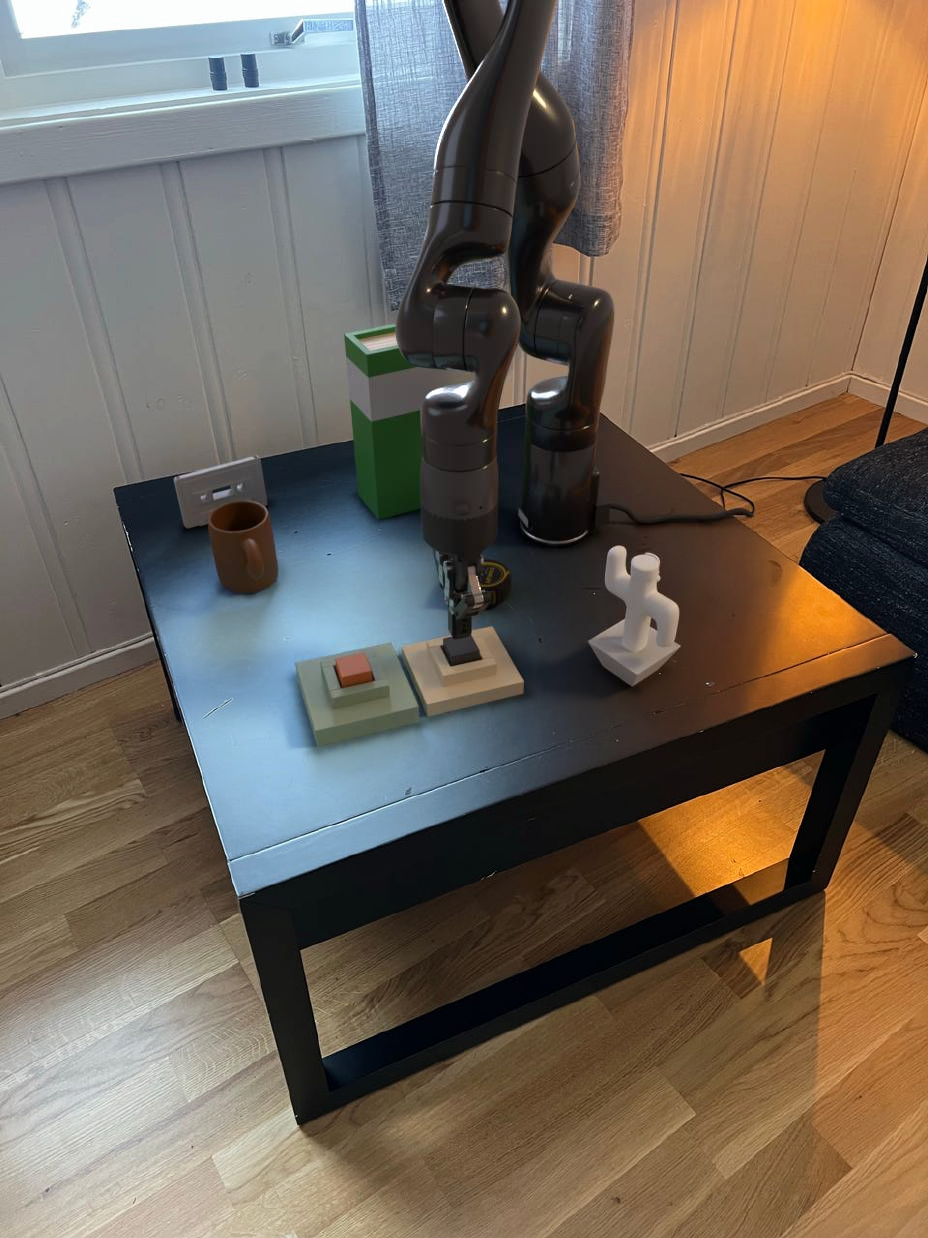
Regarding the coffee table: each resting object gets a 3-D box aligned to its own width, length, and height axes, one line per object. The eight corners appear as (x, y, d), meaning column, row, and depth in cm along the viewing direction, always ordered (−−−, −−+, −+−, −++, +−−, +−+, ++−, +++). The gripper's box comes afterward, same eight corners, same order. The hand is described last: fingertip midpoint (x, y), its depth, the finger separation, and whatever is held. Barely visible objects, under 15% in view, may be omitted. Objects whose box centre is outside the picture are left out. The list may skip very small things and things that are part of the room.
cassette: (264, 500, 133) (257, 453, 128) (269, 506, 132) (261, 458, 127) (182, 524, 128) (171, 475, 124) (186, 530, 127) (175, 482, 122)
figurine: (641, 705, 101) (659, 595, 91) (578, 661, 106) (588, 553, 97) (684, 675, 104) (705, 566, 95) (620, 634, 110) (635, 527, 100)
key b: (365, 662, 101) (364, 651, 100) (372, 681, 98) (371, 670, 97) (336, 669, 100) (334, 658, 99) (343, 688, 98) (341, 677, 97)
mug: (296, 607, 114) (287, 543, 108) (234, 623, 112) (221, 559, 106) (270, 555, 123) (260, 493, 117) (213, 569, 120) (200, 507, 114)
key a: (470, 642, 104) (470, 632, 103) (479, 660, 102) (479, 650, 101) (442, 648, 103) (442, 638, 102) (451, 667, 101) (451, 656, 100)
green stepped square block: (392, 657, 107) (390, 630, 104) (419, 722, 99) (418, 695, 96) (297, 678, 104) (293, 651, 102) (317, 747, 96) (313, 719, 93)
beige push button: (492, 638, 109) (492, 615, 107) (523, 694, 102) (524, 670, 100) (401, 658, 107) (400, 635, 104) (427, 717, 99) (426, 693, 97)
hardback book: (466, 466, 141) (466, 309, 126) (490, 488, 136) (492, 328, 120) (358, 495, 134) (344, 333, 119) (378, 519, 129) (366, 354, 114)
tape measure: (464, 576, 119) (464, 552, 117) (516, 585, 117) (517, 561, 115) (449, 608, 114) (448, 584, 111) (503, 618, 112) (504, 593, 110)
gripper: (520, 524, 86) (514, 665, 96) (473, 457, 95) (472, 592, 106) (442, 538, 84) (445, 681, 95) (403, 468, 94) (409, 605, 104)
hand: (459, 633), depth 100 cm, fingers closed
